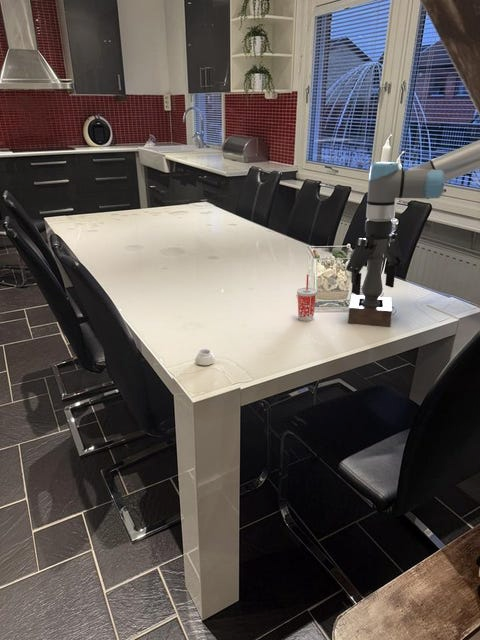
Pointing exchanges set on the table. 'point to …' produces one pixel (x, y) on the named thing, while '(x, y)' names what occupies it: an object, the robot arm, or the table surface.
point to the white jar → (205, 357)
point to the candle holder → (374, 275)
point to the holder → (370, 312)
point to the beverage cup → (306, 302)
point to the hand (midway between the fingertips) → (372, 290)
